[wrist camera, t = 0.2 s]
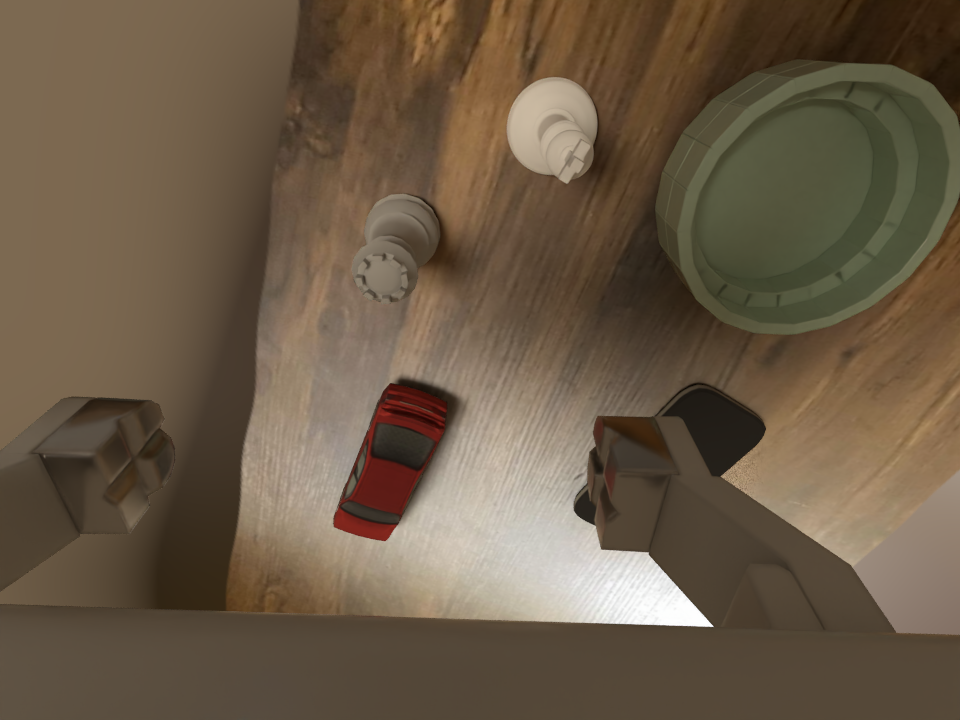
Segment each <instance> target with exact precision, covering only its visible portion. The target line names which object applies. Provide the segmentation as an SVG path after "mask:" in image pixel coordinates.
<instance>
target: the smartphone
mask: <svg viewBox="0 0 960 720" xmlns="http://www.w3.org/2000/svg"><path fill="white" fill-rule="evenodd" d="M657 416H678V417H680V418H681V419H683V421H684V423H685V425H686V427H687V429H688V431H689V433H690V435H691V437H692V438H693V440H694V442H695V444H696V446H697V448H698V450H699V452H700V454H701V456H702V458H703V460H704V462H705V464H706V466H707V468H708V469H709V471H710V473H711V475H712V476H717V477H720V476H721V475H722V474H724V473H725V472H726V471H727V470H728V469H729V468H731V467H732V466H733V465H734V464H735V463H736V462H738V461H739V460H740V459H741V458H742V457H743V456H745V455H746V454H747V453H748V452H749V451H750V450H752V449H753V448H754V447H755V446H756V445H757V444H758V443H759V442H760V440H761V439H762V437H763V436H764V433H765V430H766V428H765V425H764V423H763V421H762V420H761V419H760V418H759V417H758V416H757V415H756V414H754V413H753V412H752V411H750V410H748V409H747V408H745V407H743V406H742V405H740V404H738V403H737V402H735V401H734V400H732V399H730V398H729V397H727V396H725V395H724V394H722V393H720V392H719V391H717V390H715V389H713V388H711V387H709V386H706V385H694V386H691V387H689V388H687V389H685V390H683V391H682V392H680V393H679V394H678V395H677V396H676V397H675V398H674V399H673V400H672V401H671V402H670V403H669V404H668V405H667V406H666V407H665V408H664V409H663V410H662V411H661V412H660V413H659V414H658V415H657ZM596 509H597V507H596V506H595V505H594V504H593V503H592V502H591V501H590V497H589V492H588V485H587V486H586V487H585V488H584V489H583V490H582V491H581V492H580V493H579V494H578V495H577V496H576V498H575V501H574V511H575V513H576V514H577V516H579V517H580V518H581V519H583V520H585V521H587V522H589V523H591V524H593V525H595V514H596ZM595 526H596V525H595Z"/></svg>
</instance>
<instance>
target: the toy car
mask: <svg viewBox="0 0 960 720" xmlns="http://www.w3.org/2000/svg"><path fill="white" fill-rule="evenodd" d="M378 402H379V404H378V403H377V405H376V408H375V411H374V413H373V416H372V419H371V422H370V425H371V426H370V425H369V427H370V429H369V428H368V430H369V431H367V433H366V436H365V438H364V441H363V443H362V446H361V448H360V451H359V453H358V456H357V458H356V461H355V463H354V466H353V469H352V471H351V474H350V476H349V479H348V481H347V484H345V486H346V487H344V489H345V490H344V489H343V492H344V493H343V492H342V495H343V496H342V495H341V498H342V499H341V498H340V501H341V502H340V501H339V504H340V505H339V504H338V506H339V507H337V508H338V510H337V509H336V511H337V512H335V515H334V523H333V524H334V527H335V528H338V529H340V530H343V531H345V532H348V533H351V534H355V535H358V536H361V537H366V538H370V539H375V540H381V541H386V540H387V539H388V538H389V537H390V535H391V533H392V532H393V530H394V529H395V527H396V526H397V525H398V523H399V521H400V519H401V517H402V515H403V513H404V511H405V509H406V507H407V505H408V503H409V501H410V499H411V497H412V495H413V493H414V491H415V489H416V487H417V485H418V483H419V481H420V479H421V477H422V475H423V473H424V471H425V469H426V467H427V465H428V463H429V461H430V459H431V457H432V455H433V453H434V451H435V449H436V446H437V444H438V442H439V440H440V438H441V436H442V434H443V432H444V430H445V424H446V413H447V402H445V401H443V400H441V399H439V398H437V397H435V396H433V395H430V394H428V393H425V392H423V391H420V390H417V389H413V388H410V387H406V386H402V385H397V384H392V383H390V384H389V385H388V387H387V388H386V389H385V390H384V391H383V393H382V396H381V398H380V401H379V400H378ZM371 423H372V424H371Z"/></svg>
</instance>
